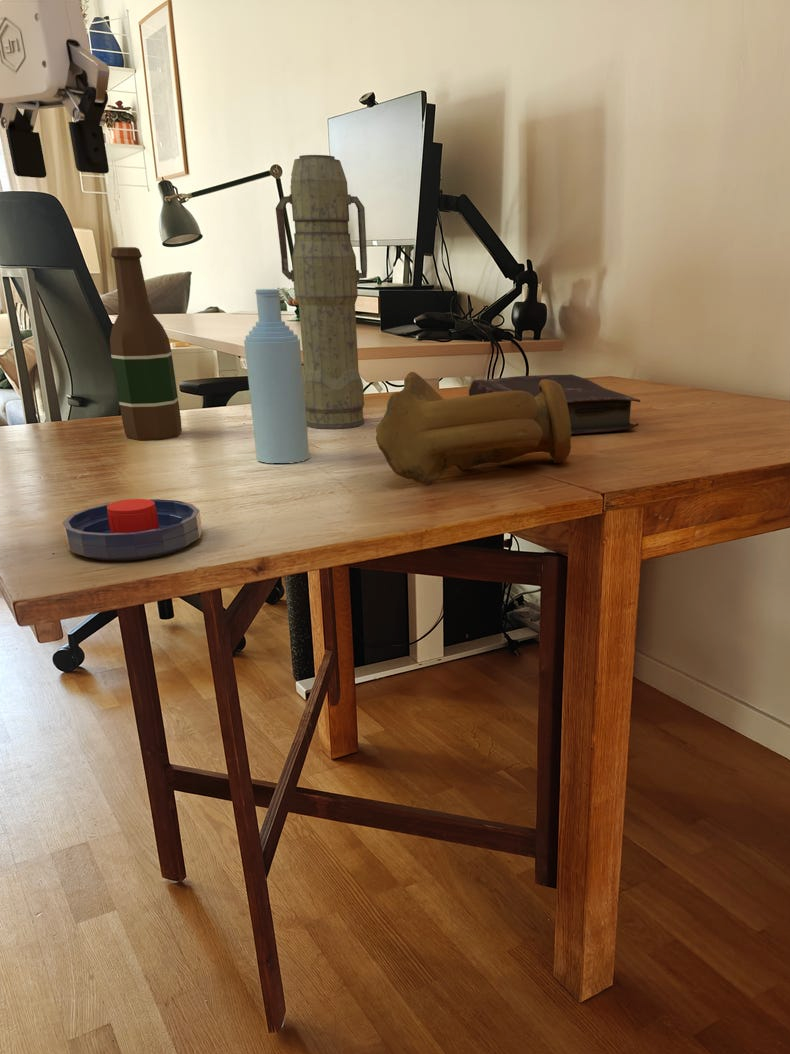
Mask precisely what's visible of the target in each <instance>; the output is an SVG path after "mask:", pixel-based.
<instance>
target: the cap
mask: <svg viewBox="0 0 790 1054" xmlns="http://www.w3.org/2000/svg"><path fill="white" fill-rule="evenodd" d="M110 503H111V504H109V505H108V506H107V511H108V513H107V515H108V520H109V526H110V531H111V533H129V532H138V531H145V530H152V529H158V528H159V523H158V517H157V511H156V507H155V502H154V501H152V500H150V499H147V498H130V499H129V498H128V499H122V500H121V499H120V500H116V501H113V502H110Z"/></svg>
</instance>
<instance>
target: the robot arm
mask: <svg viewBox="0 0 790 1054" xmlns="http://www.w3.org/2000/svg"><path fill="white" fill-rule="evenodd" d="M90 47H91V46H90V42H89V37H88V32H87V28H86V23H85V19H84V16H83V12H82V8H81V3H80V1H79V0H0V126H1V129H3V130H4V131H5V134H6V139H7V144H8V150H9V154H10V160H11V164H12V170H13V173H14V176H16V177H21V178H34V179H35V178H36V179H44V178H46V177H47V169H46V163H45V157H44V151H43V147H42V141H41V136H40V132H37V131H35V126H36V123H37V122H36V121H37V117H38V114H39V111H40V110H46V109H56V108H63V107H65V109H66V111H67V112H68V113H69V115H70V116H71V118H72V120H73V121H68V128H69V134H70V141H71V146H72V152H73V158H74V159H73V160H74V164H75V168H76V170H77V171H78V172H79V173H89V174H90V173H91V174H102V175H104V174H109V172H110V168H109V161H108V155H107V147H106V142H105V135H104V128H103V126H104V125H105V124H106V121H107V118H106V113H105V111H106V107H107V105H108V102H109V95H108V92H107V91H108V88H109V80H110V67H109V65H108V64H107V63H105V62H104V61H103V60H101V59H100V58H98V57H97V56H96V55H94V54H93V53H92V52H91V48H90ZM20 109H21V110H23V113H22V112H21V111H20Z"/></svg>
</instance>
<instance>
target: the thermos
mask: <svg viewBox="0 0 790 1054" xmlns="http://www.w3.org/2000/svg"><path fill="white" fill-rule="evenodd" d="M291 170H292V171H291V173H290V176H291V177H290V187H289V188H290V194H289V195H286V196H282V197H281V198H280V200H279V201H278V204H277V205H276V206H275V215H276V224H277V225H276V226H277V234H278V241H279V250H280V259H281V262H280V263H281V273H282V274H283V275H284V277H286V278H287V279H288V280H289V281H291V282H292V283H293V293H294V298H295V300H296V302H297V304H298V314H299V324H300V325H299V326H300V337H301V339H300V340H301V350H302V351H301V352H302V365H303V385H304V397H305V409H306V422H307V427H308V428H313V429H320V430H321V429H322V430H339V429H340V430H341V429H351V428H356V427H359V426H363V425H364V424H365V419H364V406H365V395H364V394H365V393H364V384H363V380H362V377H361V375H360V370H359V355H358V335H357V334H358V333H357V316H356V302H357V299H358V298H359V293H358V291H359V290H358V282H360V280H361V279H362V280H363V279H367V277H368V252H367V251H368V249H367V231H366V212H365V211H366V210H365V208H366V207H365V206H364V205H363V203H362V202H361V200H360V199H359V198H358V196H355V195H351V194H349V191H348V190H349V188H348V180H347V177H346V173H345V171H344V168H343V165H342V162H341V160H340V159H337V158H336V157H335V156H333V155H327V154H303V155H302V154H301V155H299V156H298V158H295V159H294V160H293V165H292V169H291ZM287 204H290V205H291V213H292V222H294V230H295V231H294V233H293V236H294V244H293V248H292V252H291V268H292V269H291V270H289V269H290V268H289V258H288V250H287V249H288V247H287V235H286V234H287V233H286V225H285V212H284V211H285V208H286V206H287ZM352 204H355V207H356V209H357V224H358V247H359V263H360V265H359V266H360V270H359V269H357V256H356V254H355V250H354V248H353V245H352V243H351V241H352V240H351V233H349V222H350V208H349V207H350V206H351V205H352ZM349 205H350V206H349ZM360 271H361V272H360Z"/></svg>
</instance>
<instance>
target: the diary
mask: <svg viewBox="0 0 790 1054" xmlns="http://www.w3.org/2000/svg"><path fill="white" fill-rule="evenodd" d="M544 379H548V380H553V381H556V382H557V383H558V384H560V385H561V387H562V388H563V391H564V394H565V397H566V401H567V405H568V410H569V416H570V424H571V435H577V434H578V435H579V434H592V433H593V434H595V433H607V432H617V431H624V430H625V431H626V430H631V429H634V428H636V427H638V426H639V425H640V424H639V422H637V423H635V424H634V423H631V410H632V402H638V403H641V399H639V398H636V397H633V396H630V395H627V394H624V393H621V392H617V391H615V390H612V389H609V388H605V387H604V386H601V385H599V384H598V383H595V382H594V381H592V380H590V379H588V378H585V377H583V376H578V375H575V374H539V375H538V374H535V375H517V376H507V377H506V376H505V377H497V378H488V379H473V381H472V382H471V384H470V386H469V388H468V396H472V395H479V394H485V393H492V392H502V391H525V392H528V393H530V394H532V395H533V396H534V397H536V396H537V395H538V394H539V382H540V381H541V380H544Z"/></svg>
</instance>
